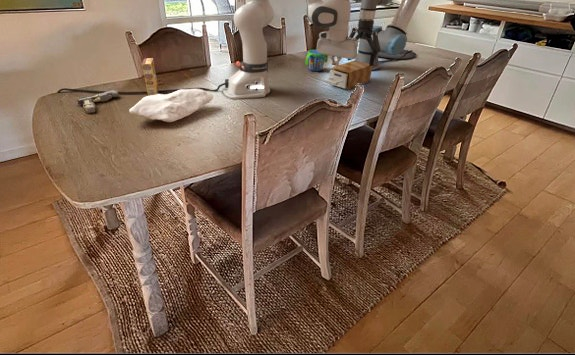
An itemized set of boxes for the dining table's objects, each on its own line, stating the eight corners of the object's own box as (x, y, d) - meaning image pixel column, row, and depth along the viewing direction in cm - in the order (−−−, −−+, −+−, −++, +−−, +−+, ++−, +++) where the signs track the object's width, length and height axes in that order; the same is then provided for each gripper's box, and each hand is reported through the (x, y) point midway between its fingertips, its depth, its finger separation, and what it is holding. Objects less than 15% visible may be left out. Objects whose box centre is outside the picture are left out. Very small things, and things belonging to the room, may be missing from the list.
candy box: (157, 97, 164) (152, 63, 155) (147, 98, 163) (141, 63, 155) (158, 91, 171) (153, 57, 163) (149, 91, 170) (143, 58, 162)
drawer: (337, 91, 177) (338, 77, 174) (321, 86, 183) (322, 72, 179) (364, 81, 192) (366, 68, 189) (349, 76, 198) (351, 63, 194)
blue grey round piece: (426, 55, 246) (429, 41, 242) (391, 61, 229) (393, 46, 224) (387, 47, 271) (389, 34, 267) (353, 52, 254) (354, 38, 249)
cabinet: (348, 89, 183) (351, 71, 178) (331, 84, 190) (333, 66, 185) (369, 81, 195) (372, 64, 190) (352, 76, 202) (354, 60, 197)
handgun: (128, 97, 156) (111, 87, 164) (86, 107, 144) (70, 97, 152) (129, 103, 157) (113, 94, 165) (88, 114, 146) (72, 103, 154)
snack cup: (320, 65, 217) (322, 48, 212) (332, 70, 210) (333, 52, 204) (299, 69, 210) (300, 51, 204) (310, 74, 202) (311, 55, 197)
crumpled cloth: (117, 110, 146) (113, 90, 140) (195, 92, 166) (194, 73, 160) (143, 139, 134) (140, 118, 128) (223, 116, 154) (224, 96, 148)
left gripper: (361, 37, 166) (357, 67, 174) (322, 31, 175) (320, 60, 183) (355, 39, 162) (351, 70, 169) (316, 33, 171) (313, 62, 178)
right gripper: (392, 22, 175) (384, 66, 186) (350, 15, 189) (345, 56, 201) (384, 23, 170) (376, 69, 182) (341, 16, 185) (336, 58, 196)
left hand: (335, 65), depth 176 cm, fingers closed
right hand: (360, 62), depth 191 cm, fingers open, 13 cm apart
